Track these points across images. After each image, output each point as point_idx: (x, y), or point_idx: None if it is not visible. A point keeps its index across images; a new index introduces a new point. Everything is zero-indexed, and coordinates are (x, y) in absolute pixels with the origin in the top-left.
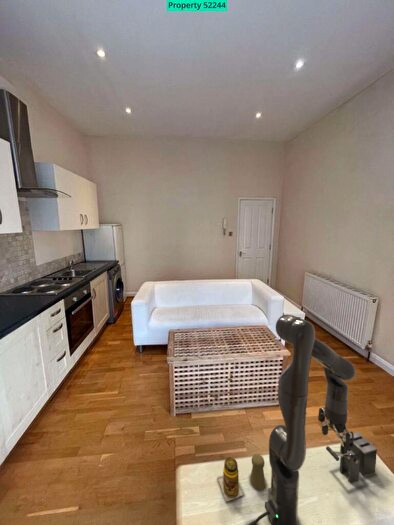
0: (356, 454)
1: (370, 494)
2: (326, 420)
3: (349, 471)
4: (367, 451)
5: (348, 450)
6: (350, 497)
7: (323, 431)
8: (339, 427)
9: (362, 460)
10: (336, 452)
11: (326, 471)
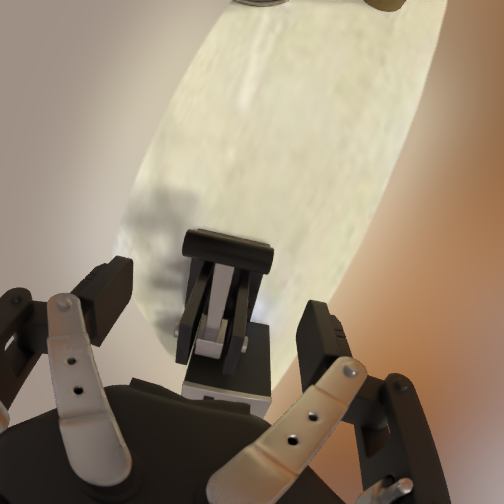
0: (184, 355)
1: (166, 284)
2: (297, 470)
3: (203, 282)
4: (182, 394)
5: (218, 348)
6: (185, 219)
7: (320, 319)
8: (28, 468)
9: (197, 355)
10: (222, 281)
11: (281, 231)
